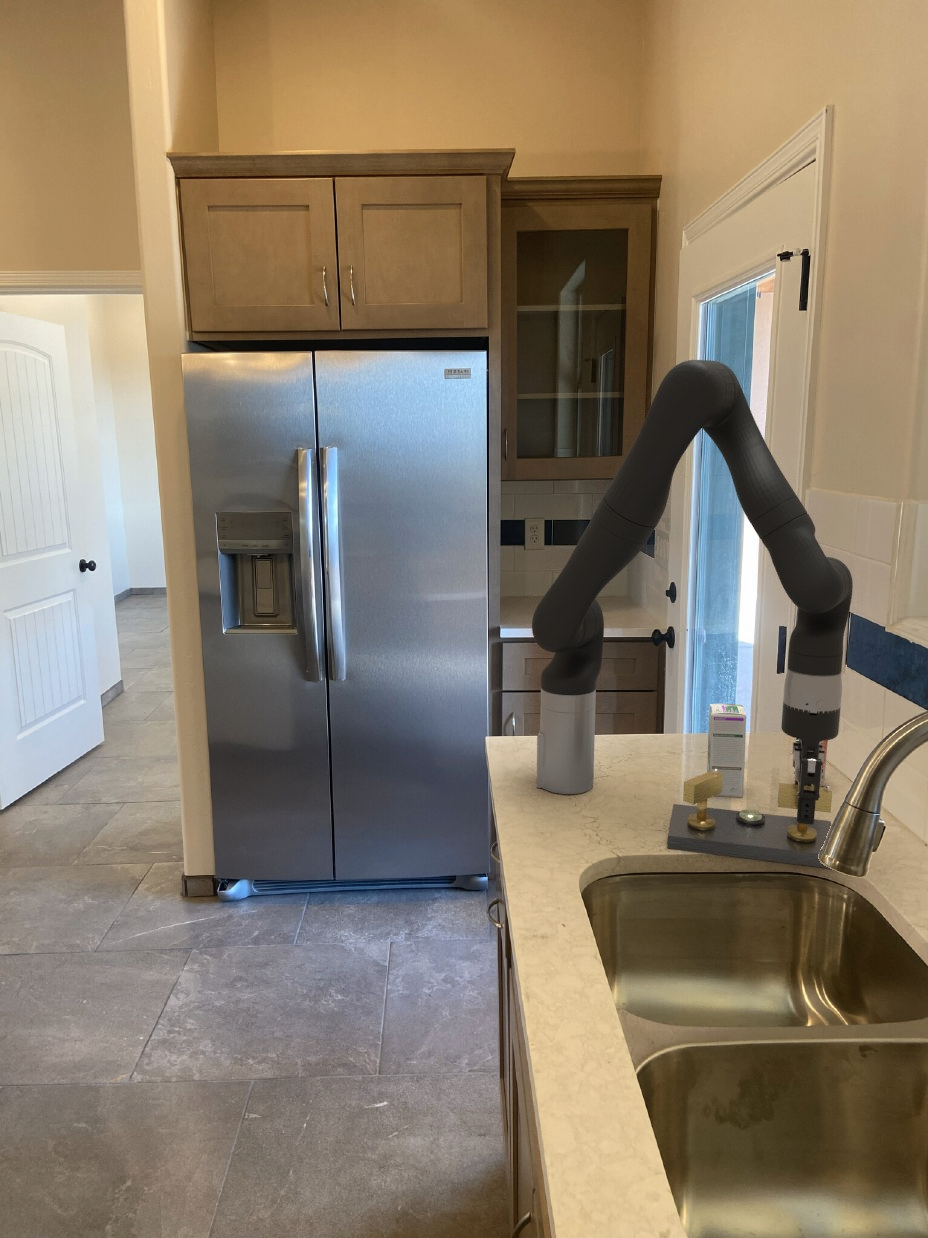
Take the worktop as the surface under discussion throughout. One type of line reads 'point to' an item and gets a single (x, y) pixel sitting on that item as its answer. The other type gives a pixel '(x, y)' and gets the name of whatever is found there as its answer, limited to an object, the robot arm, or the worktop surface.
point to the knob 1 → (702, 797)
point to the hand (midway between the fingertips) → (803, 812)
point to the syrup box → (727, 746)
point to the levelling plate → (746, 836)
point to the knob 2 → (790, 800)
